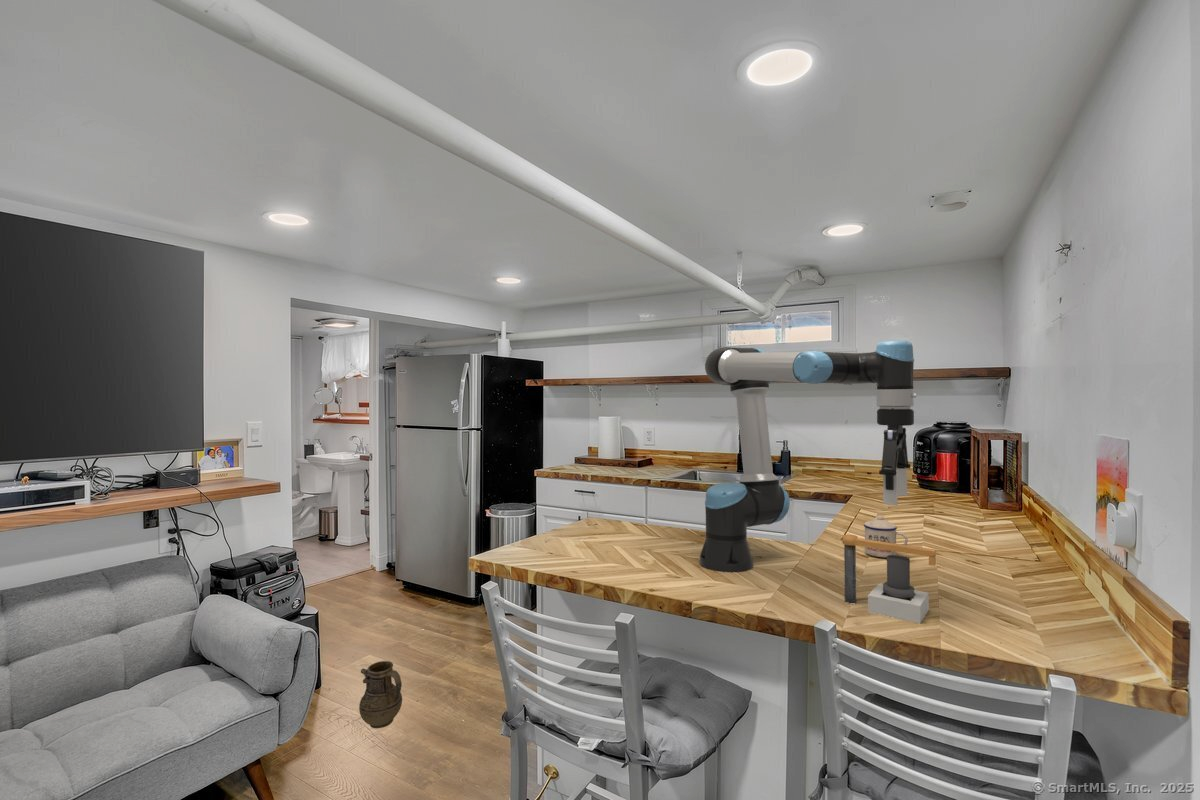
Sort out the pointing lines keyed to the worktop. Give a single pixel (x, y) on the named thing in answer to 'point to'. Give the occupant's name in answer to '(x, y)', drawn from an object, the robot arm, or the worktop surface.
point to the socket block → (899, 605)
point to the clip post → (850, 573)
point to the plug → (898, 578)
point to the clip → (891, 547)
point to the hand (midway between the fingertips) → (895, 499)
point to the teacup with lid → (881, 535)
